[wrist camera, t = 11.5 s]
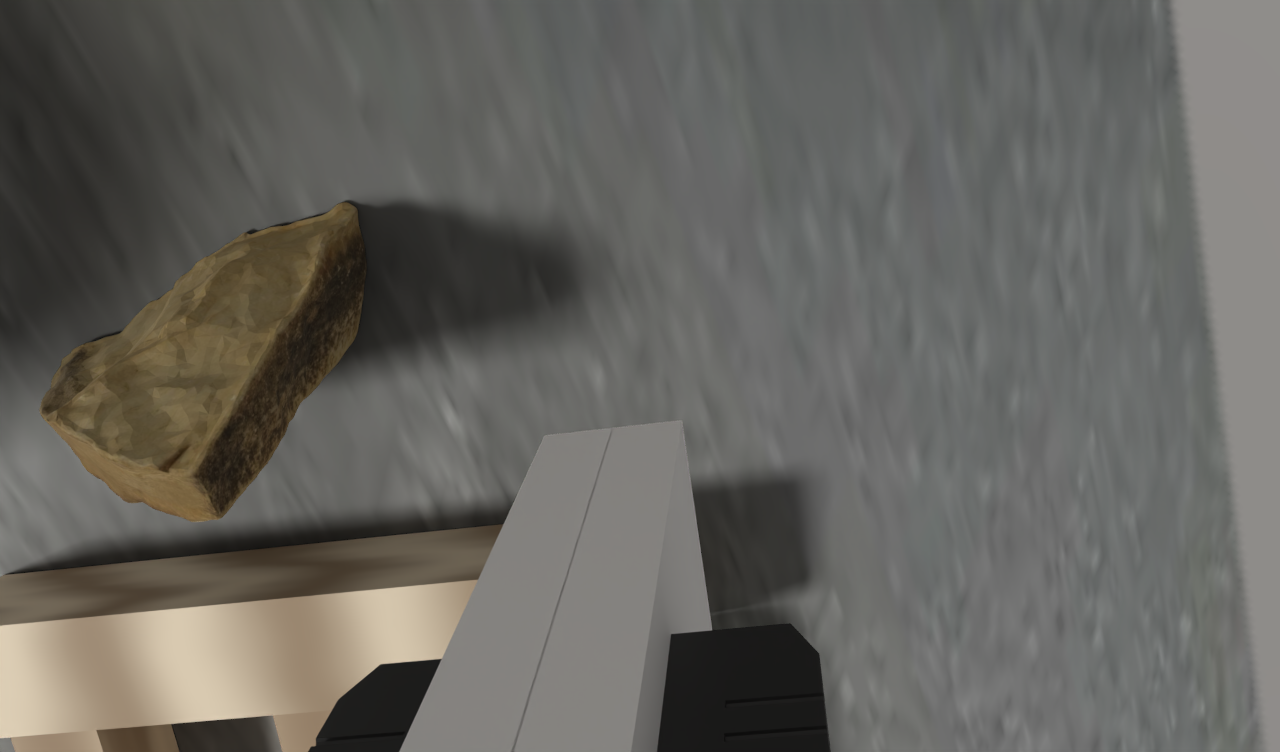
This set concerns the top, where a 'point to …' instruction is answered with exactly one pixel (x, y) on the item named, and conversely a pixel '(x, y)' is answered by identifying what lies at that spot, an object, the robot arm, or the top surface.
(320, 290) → the rock
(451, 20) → the top surface
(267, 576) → the stool frame
